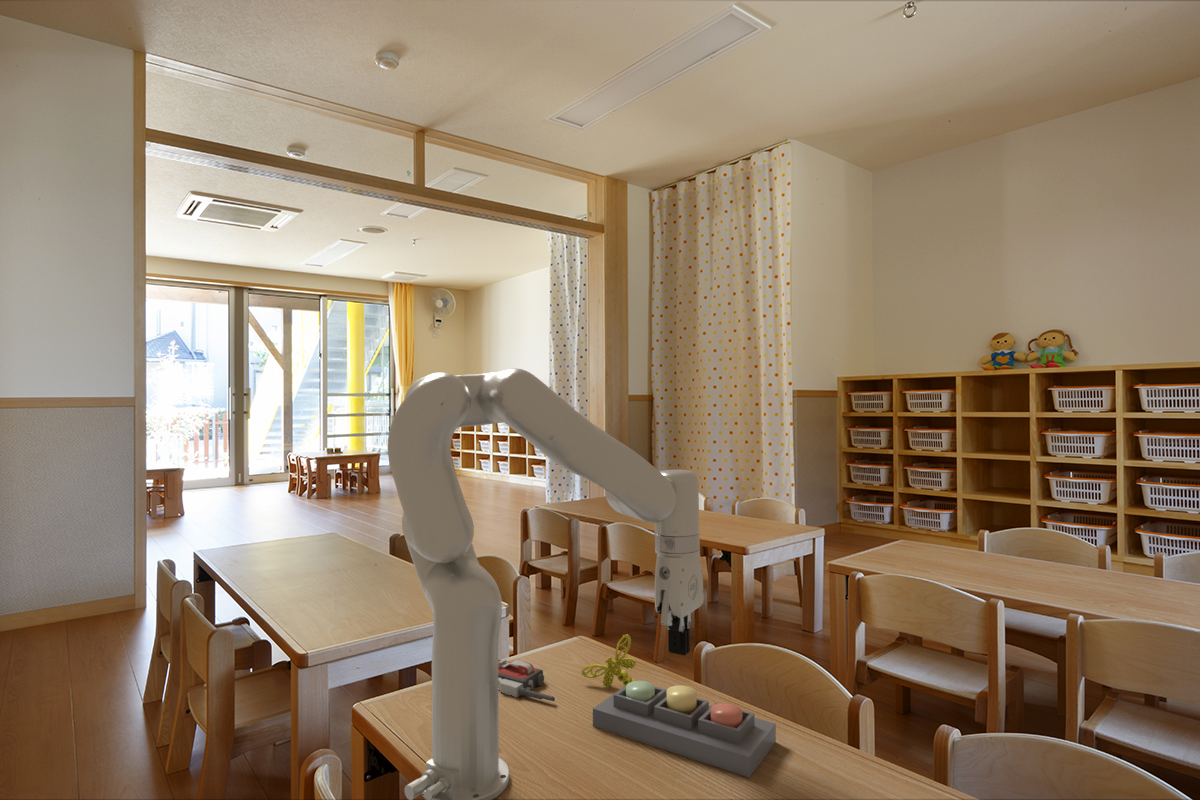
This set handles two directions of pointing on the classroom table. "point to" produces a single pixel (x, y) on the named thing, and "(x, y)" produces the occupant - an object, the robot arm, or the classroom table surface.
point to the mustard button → (682, 699)
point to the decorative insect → (612, 669)
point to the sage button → (640, 690)
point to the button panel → (688, 731)
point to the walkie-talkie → (520, 679)
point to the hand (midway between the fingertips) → (679, 652)
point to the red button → (726, 714)
